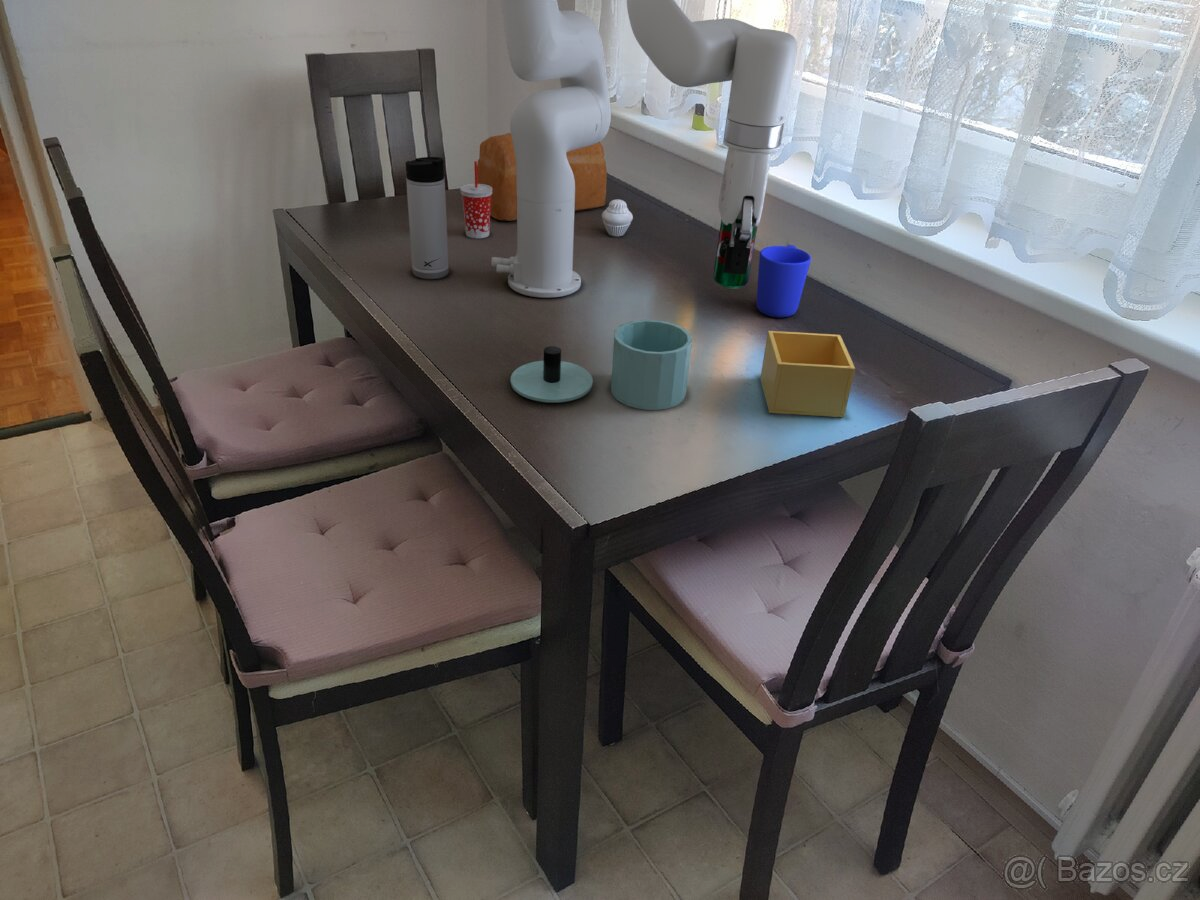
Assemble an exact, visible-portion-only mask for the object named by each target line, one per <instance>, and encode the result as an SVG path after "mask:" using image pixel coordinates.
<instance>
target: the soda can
mask: <svg viewBox="0 0 1200 900" xmlns="http://www.w3.org/2000/svg"><path fill="white" fill-rule="evenodd" d="M720 218H721V217H720ZM736 223H741V219H736ZM731 225H732V224H731V223H728V225H725V224H724V223H723V221H722V218H721V219H720V225H719V232H718V240H717V246H716V247H717V248H716V251H715V252H716V253H715V254H716V255H715V259H714V266H713V275H712V279H713V281H714V282H715V284H716V285H718V286H719V287H721V288H725V289H731V290H736V289H742V288H743V287H745V286H746V285H747V284H748V283H749V279H750V272H751V268H752V262H753V256H754V255H753V254H754V249H755V243H756V239H757V232H758V226H759V224H758V225H757V226H756V227H753V229H752V237H751V245H750V246H751V249H750V255H749V261H748V267H747V272H746V274H744V275H743V274H729V273H724V270H723V269H724V262H725V255H726V249H727V244H730V235H731ZM737 232H740V228H736V233H737Z"/></svg>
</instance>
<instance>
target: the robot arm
mask: <svg viewBox="0 0 1200 900" xmlns="http://www.w3.org/2000/svg"><path fill="white" fill-rule="evenodd" d="M499 6H500V13H501V19H502V24H503V31H504V36H505V43H506V49H507V54H508V58H509V63H510V66H511V68H512V71H513V73H514V74H515V76H517V78H519V79H520V80H522V81H525V82H532V83H533V82H534V83H535V82H546V81H552V80H559V83H560V87H556V88H551V89H544V90H540V91H535V92H531V93H530V94H527V95H525V96H524V97H522V98H521V99H519V100H518V101H517V103H516V104H515V105H514V107H512V108H513V109H512V111H511V114H510V118H509V119H510V120H509V127H510V133H511V136H512V141H513V146H514V152H515V159H516V173H517V220H516V252H515V256H509V258H508V257H507V258H504V257H498V256H492V257H491V261H490V263H491V265H490V266H491V269H496V273H498V274H508V276H507V283H508V286H509V288H510V289H511V290H513V291H514V292H516V293H518V294H521V295H524V296H529V297H532V298H542V299H543V298H544V299H545V298H546V299H551V298H560V297H565V296H569V295H572V294H573V293H575V292H577V291H578V290H579V289H580V288H581V285H582V278H581V276H580V275H579V273H578V272H576V271H574V270H573V265H574V264H573V263H574V239H575V237H574V235H575V232H574V231H575V211H574V209H575V179H574V175H573V172H572V169H571V167H570V165H569V163H568V160H567V157H566V152H569V151H572V150H576V149H580V148H584V147H588V146H592V145H594V144H597V143H598V142H600V143H601V141H603V140H604V139H605V138H606V136H607V135H608V132H609V130H610V127H611V120H612V108H611V106H612V105H611V98H610V90H609V82H608V81H609V80H608V74H607V73H608V72H607V66H606V57H605V48H604V44H603V39H602V37H601V33H600V31H599V29H598V27H597V26H596V24H595V22H594V21H593V20H592V19H591V17H590V16H588V15H587V14H585V13H584V12H581V11H578V10H571V9H570V10H560V9H559V4H558V0H499ZM626 10H627V14H628V15H627V16H628V19H629V25H630V28H631V31H632V33H633V36H634V38H635V40H636V42H637V43H638V45H639V46H640V48H641V49H642V51H643V52H644V53H645V54H646V56H647V57H648V59H649V60H650V62H651V63H652V64H653V65H654V66H655V68H656V69H657V70H658V71H659V72H660V73H661V74H662V76H664V77H665V78H666V79H667V80H668V81H669V82H671V83H672V84H675V85H676V86H678V87H682V88H683V87H684V88H694V87H699V86H704V85H709V84H716V83H724V82H730V81H731V83H730V89H729V90H730V92H729V98H728V105H727V112H726V119H725V125H724V126H725V127H724V132H723V141H722V143H723V145H724V146H725V147H728V149H727V153H726V158H725V163H724V168H723V173H722V182H721V186H720V191H719V197H718V210H719V215H720V218H722V221H723V223H724V224H725V225H728V223H731V224H732V225H731V235H730V244H727V249H726V255H725V262H724V269H723V270H724V273H729V274H743V275H744V274H746V272H747V267H748V261H749V255H750V249H751V246H750V245H751V237H752V229H753V227H756V226H757V225H758V226H759V225H760V223H761V218H762V213H763V209H764V203H765V197H766V190H767V184H768V179H769V178H768V177H769V170H770V163H771V157H772V156H771V155H772V153H776V152H778V151H780V150H781V144H782V139H783V134H784V128H785V123H786V122H785V121H786V116H787V110H788V106H789V105H788V104H789V100H790V94H791V89H792V82H793V77H794V71H795V65H796V59H797V53H798V41H797V39H796V37H795V36H794V35H792V34H791V33H788V32H787V31H783V30H776V29H771V28H769V29H768V28H759V27H756V26H754V25H752V24H749V23H747V22H745V21H742V20H739V19H735V18H726V17H725V18H716V19H714V18H713V19H704V20H696V21H692V20H691V19H690V18H689V17H688V16H687V14H686V13H685V12H684V11H683V9H681V7H680V6H679V4H678V3H677V2H676V0H626ZM736 219H741V223H736ZM758 226H757V227H758ZM736 228H740V232H737V233H736Z"/></svg>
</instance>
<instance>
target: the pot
mask: <svg viewBox="0 0 1200 900" xmlns="http://www.w3.org/2000/svg"><path fill="white" fill-rule="evenodd" d="M613 333H614V335H613V347H612V348H613V350H612V364H611V382H610V392H611V394H612V396H613V397H614V398H615V399H616V400H617V401H618V402H620V403H621V404H623V405H625V406H628V407H631V408H634V409H639V410H645V411H646V410H647V411H660V410H661V411H662V410H666V409H671V408H674V407H676V406H678V405H680V404H681V403H683V401H684V400H685V397H686V395H687V388H688V380H689V371H690V364H691V356H692V345H693V338H692V334H691V333H690V332H689V331H688V330H687V329H685V328H684V327H682V326H679V325H678V324H675V323H674V322H668V321H665V320H657V319H638V320H631V321H628V322H625V323H623V324H620V325H618V327H617V328H616V329H615V330H614V332H613Z"/></svg>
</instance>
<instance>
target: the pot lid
mask: <svg viewBox="0 0 1200 900" xmlns="http://www.w3.org/2000/svg"><path fill="white" fill-rule="evenodd" d="M542 359H543V360H537V361H532V362H528V363H525V364H523V365H521V366H519V367H517V368H516V369H515V370H514V371H512V373H511V376H510V386H511V388H512V389H513V391H514V392H515V393H517V394H518V395H520V396H522V397H524V398H526V399H529V400H532V401H535V402H541V403H565V402H571V401H574V400H578V399H580V398H582V397H584V396H586V395H587V394H588V393H589V392H590V391H591V390H592V388H593V385H594V384H593V383H594V380H593V376H592V374H591V373H590V372H589V371H588V370H587V369H585V368H584V367H582V366H580V365H578V364H575V363H572V362H568V361H564V360H562V349H561V347H559V346H556V345H550V346H546V347H544V348H543V358H542Z"/></svg>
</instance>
